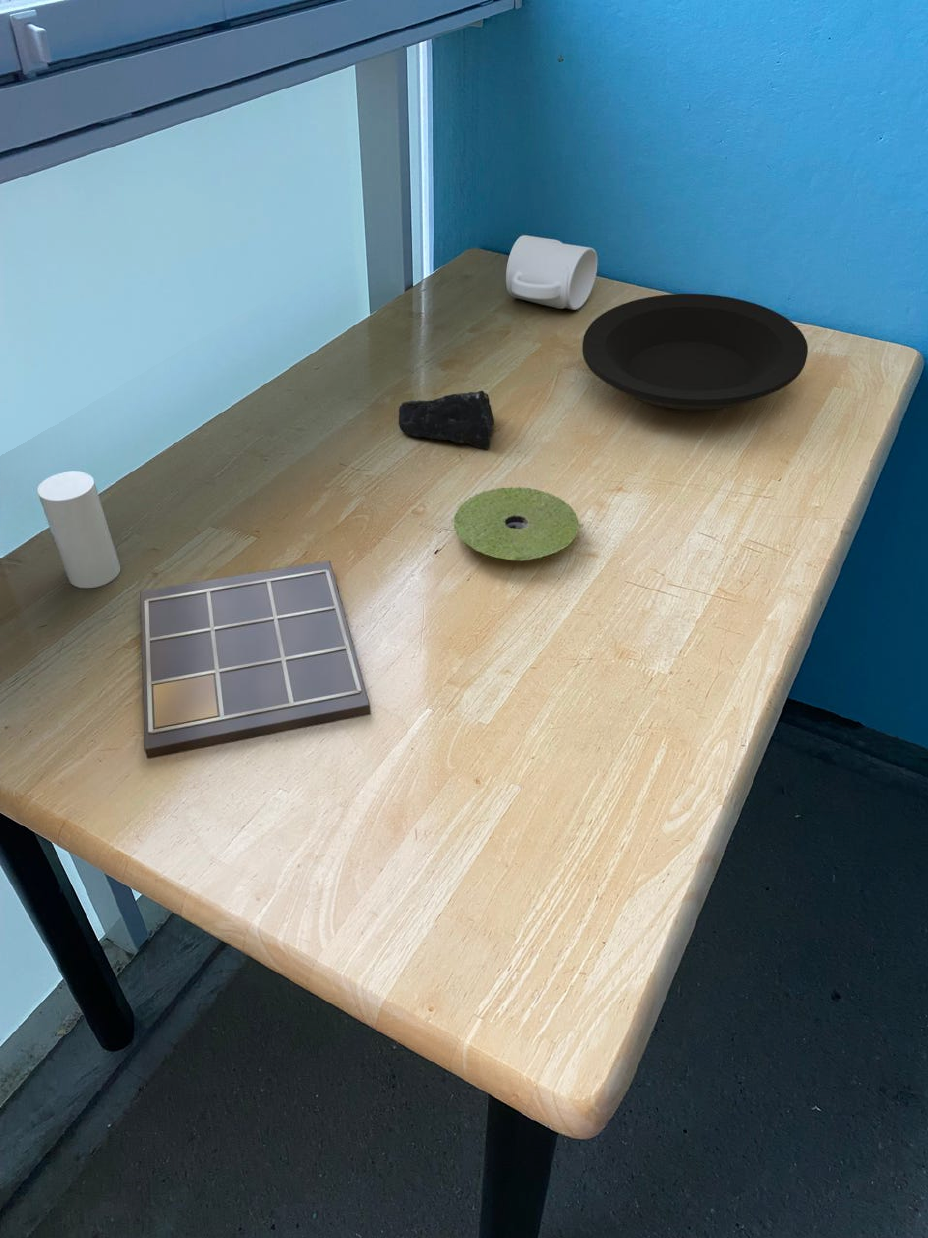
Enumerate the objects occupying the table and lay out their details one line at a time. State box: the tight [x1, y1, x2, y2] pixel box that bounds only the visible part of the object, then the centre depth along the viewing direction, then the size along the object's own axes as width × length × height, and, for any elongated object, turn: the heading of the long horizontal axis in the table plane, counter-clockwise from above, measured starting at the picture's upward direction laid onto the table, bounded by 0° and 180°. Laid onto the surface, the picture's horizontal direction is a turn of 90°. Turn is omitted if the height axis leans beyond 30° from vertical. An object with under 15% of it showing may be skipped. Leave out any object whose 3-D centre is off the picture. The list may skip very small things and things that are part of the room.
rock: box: [398, 390, 495, 451], centre depth 98 cm, size 7×10×6 cm
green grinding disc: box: [453, 486, 580, 561], centre depth 84 cm, size 11×11×2 cm
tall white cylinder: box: [36, 470, 121, 589], centre depth 78 cm, size 4×4×9 cm
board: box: [139, 560, 372, 759], centre depth 73 cm, size 16×18×1 cm
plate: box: [581, 293, 809, 411], centre depth 105 cm, size 28×24×6 cm
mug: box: [505, 234, 598, 311], centre depth 122 cm, size 12×9×8 cm
